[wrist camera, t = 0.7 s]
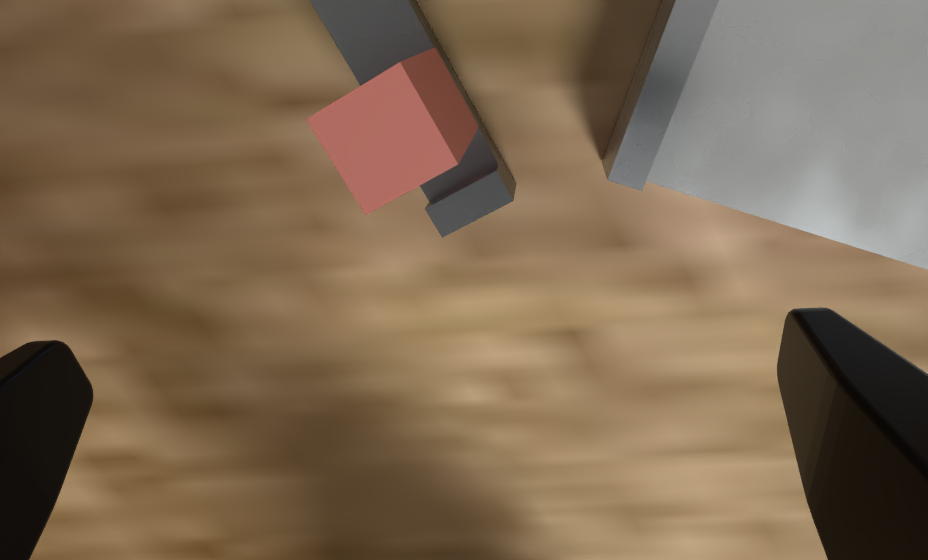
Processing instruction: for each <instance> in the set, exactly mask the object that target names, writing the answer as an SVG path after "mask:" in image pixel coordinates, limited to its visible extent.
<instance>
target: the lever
mask: <svg viewBox="0 0 928 560" xmlns="http://www.w3.org/2000/svg"><path fill="white" fill-rule="evenodd" d="M306 121H307V122H308V124H309V125H310V127H311V129H312V130H313V132H314V133H315V135H316V137H317V138H318V140H319V141H320V143H321V145H322V146H323V148H324V149H325V151H326V153H327V154H328V156H329V157H330V159H331V161H332V162H333V164H334V165H335V167H336V169H337V170H338V172H339V173H340V175H341V177H342V178H343V180H344V181H345V183H346V185H347V186H348V188H349V189H350V191H351V193H352V194H353V196H354V197H355V199H356V201H357V202H358V204H359V205H360V207H361V209H362V210H363V212H364V213H365V215H367V214H368V213H370V212H372V211H374V210H376V209H378V208H379V207H381V206H383V205H385V204H387V203H389V202H390V201H392V200H394V199H396V198H398V197H400V196H401V195H403V194H405V193H407V192H409V191H411V190H412V189H414V188H416V187H418V186H420V185H421V184H423V183H425V182H427V181H429V180H431V179H432V178H434V177H436V176H438V175H440V174H442V173H443V172H445V171H447V170H449V169H451V168H453V167H454V166H456V165H458V164H459V162H460V160H461V158H462V157H463V155H464V153H465V151H466V149H467V147H468V146H469V144H470V142H471V140H472V138H473V137H474V135H475V133H476V131H477V129H478V127H479V126H478V124H477V122H476V120H475V119H474V117H473V115H472V113H471V111H470V109H469V108H468V106H467V104H466V102H465V100H464V99H463V97H462V95H461V93H460V91H459V90H458V88H457V86H456V84H455V82H454V80H453V79H452V77H451V75H450V73H449V71H448V70H447V68H446V66H445V64H444V62H443V60H442V59H441V57H440V55H439V53H438V51H437V50H436V48H435V47H434V48H432V49H429V50H427V51H425V52H422V53H420V54H418V55H415V56H413V57H411V58H408V59H406V60H403V61H401V62H399V63H397V64H396V65H394V66H393V67H391V68H389V69H388V70H386V71H384V72H383V73H381V74H379V75H378V76H376V77H374V78H373V79H371V80H370V81H368V82H366V83H365V84H363V85H361V86H360V87H358V88H356V89H355V90H353V91H352V92H350V93H348V94H347V95H345V96H343V97H342V98H340V99H338V100H337V101H335V102H334V103H332V104H330V105H329V106H327V107H325V108H324V109H322V110H320V111H319V112H317V113H315V114H314V115H312V116H311V117H309V118H307V119H306Z"/></svg>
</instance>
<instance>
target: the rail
mask: <svg viewBox="0 0 928 560" xmlns="http://www.w3.org/2000/svg"><path fill="white" fill-rule="evenodd" d="M310 1H311V3H312V4H313V6H314V8H315V9H316V11H317V13H318V14H319V16H320V18H321V20H322V21H323V23H324V25H325V26H326V28H327V30H328V31H329V33H330V35H331V36H332V38H333V40H334V41H335V43H336V45H337V47H338V48H339V50H340V52H341V53H342V55H343V57H344V58H345V60H346V62H347V63H348V65H349V67H350V68H351V70H352V72H353V74H354V75H355V77H356V79H357V80H358V82H359V84H360V85H363V84H365V83H366V82H368V81H370V80H371V79H373V78H374V77H376V76H378V75H379V74H381V73H383V72H384V71H386V70H388V69H389V68H391V67H393V66H394V65H396V64H397V63H399V62H401V61H403V60H406V59H408V58H411V57H413V56H415V55H418V54H420V53H422V52H425V51H427V50H429V49H432V48H434V47H435V48H436V50H437V51H438V53H439V55H440V57H441V59H442V60H443V62H444V64H445V66H446V68H447V70H448V71H449V73H450V75H451V77H452V79H453V80H454V82H455V84H456V86H457V88H458V90H459V91H460V93H461V95H462V97H463V99H464V100H465V102H466V104H467V106H468V108H469V109H470V111H471V113H472V115H473V117H474V119H475V120H476V122H477V124H478V126H479V127H478V129H477V131H476V133H475V135H474V137H473V138H472V140H471V142H470V144H469V146H468V147H467V149H466V151H465V153H464V155H463V157H462V158H461V160H460V162H459V164H458V165H456V166H454V167H453V168H451V169H449V170H447V171H445V172H443V173H442V174H440V175H438V176H436V177H434V178H432V179H431V180H429V181H427V182H425V183H423V184H421V185H420V187H421V188H422V190H423V192H424V193H425V195H426V197H427V198H428V200H429V203H428V205H427V206H426V208H425V210H426V211H427V213H428V215H429V216H430V218H431V220H432V221H433V223H434V225H435V226H436V228H437V230H438V231H439V233H440V235H441V236H442V237H444V236H446V235H448V234H450V233H452V232H454V231H456V230H458V229H460V228H462V227H464V226H466V225H467V224H469V223H471V222H473V221H475V220H477V219H479V218H481V217H483V216H485V215H487V214H489V213H491V212H493V211H495V210H496V209H498V208H500V207H502V206H504V205H506V204H508V203H510V202H512V201H513V200H514V194H515V189H516V182H515V180H514V179H513V177H512V175H511V173H510V171H509V170H508V168H507V166H506V164H505V162H504V160H503V159H502V157H501V155H500V153H499V151H498V149H497V148H496V146H495V144H494V142H493V140H492V139H491V137H490V135H489V133H488V131H487V129H486V128H485V126H484V124H483V122H482V120H481V118H480V117H479V115H478V113H477V111H476V109H475V108H474V106H473V104H472V102H471V100H470V98H469V97H468V95H467V93H466V91H465V89H464V88H463V86H462V84H461V82H460V80H459V78H458V77H457V75H456V73H455V71H454V69H453V67H452V66H451V64H450V62H449V60H448V58H447V57H446V55H445V53H444V51H443V49H442V47H441V46H440V44H439V42H438V40H437V38H436V36H435V35H434V33H433V31H432V29H431V27H430V26H429V24H428V22H427V20H426V18H425V16H424V15H423V13H422V11H421V9H420V7H419V5H418V4H417V2H416V0H310Z"/></svg>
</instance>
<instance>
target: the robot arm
mask: <svg viewBox="0 0 928 560" xmlns="http://www.w3.org/2000/svg"><path fill="white" fill-rule="evenodd" d="M777 376H778V383H779V388H780V392H781V396H782V400H783V405H784V409H785V413H786V417H787V421H788V426H789V430H790V434H791V438H792V442H793V447H794V451H795V455H796V459H797V463H798V468H799V472H800V476H801V480H802V484H803V488H804V492H805V496H806V499H807V503H808V506H809V509H810V512H811V515H812V518H813V521H814V524H815V526H816V529H817V532H818V534H819V537H820V540H821V542H822V545H823V548H824V550H825V553H826V556H827V558H828V560H928V374H927V373H925V372H924V371H923V370H921V369H920V368H918V367H917V366H915V365H914V364H912V363H911V362H909V361H908V360H906V359H905V358H903V357H902V356H900V355H899V354H897V353H896V352H894V351H893V350H891V349H890V348H888V347H887V346H885V345H884V344H882V343H881V342H879V341H878V340H876V339H875V338H873V337H872V336H870V335H869V334H867V333H866V332H864V331H863V330H861V329H860V328H858V327H857V326H855V325H854V324H852V323H851V322H849V321H848V320H846V319H845V318H843V317H842V316H840V315H839V314H837V313H836V312H834V311H833V310H831V309H828V308H800V309H793V310H791V311H790V312H788V314H787V316H786V319H785V323H784V329H783V334H782V340H781V345H780V351H779V357H778V363H777ZM92 402H93V389H92V385H91V383H90V381H89V379H88V378H87V376H86V374H85V373H84V371H83V369H82V368H81V366H80V364H79V363H78V361H77V359H76V357H75V356H74V354H73V352H72V351H71V349H70V348H69V346H68V345H66V344H65V343H63V342H61V341H57V340H52V341H34V342H29V343H26V344H24V345H22V346H21V347H19V348H17V349H15V350H14V351H12V352H10V353H8V354H6V355H5V356H3V357H1V358H0V560H29V559H30V557H31V555H32V553H33V551H34V549H35V547H36V544H37V542H38V540H39V538H40V536H41V534H42V532H43V530H44V528H45V526H46V524H47V521H48V519H49V517H50V515H51V512H52V510H53V508H54V506H55V503H56V501H57V498H58V496H59V493H60V490H61V488H62V485H63V482H64V480H65V477H66V474H67V471H68V469H69V466H70V463H71V460H72V458H73V455H74V452H75V449H76V447H77V444H78V441H79V438H80V436H81V433H82V430H83V428H84V425H85V422H86V419H87V417H88V414H89V411H90V408H91V406H92Z"/></svg>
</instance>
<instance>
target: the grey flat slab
mask: <svg viewBox="0 0 928 560" xmlns="http://www.w3.org/2000/svg"><path fill="white" fill-rule="evenodd" d="M602 165H603V168H604V171H605V174H606V177H607V180H609V181H612V182H616V183H619V184H622V185H625V186H628V187H632V188H635V189H638V190H641V191H642V189H643V187H644V185H645V182H646V181H647V182H650V183H653V184H657V185H660V186H663V187H666V188H669V189H672V190H676V191H679V192H682V193H685V194H688V195H692V196H695V197H698V198H701V199H704V200H707V201H711V202H714V203H717V204H720V205H723V206H727V207H730V208H733V209H736V210H739V211H743V212H746V213H749V214H752V215H755V216H758V217H762V218H765V219H768V220H771V221H774V222H778V223H781V224H784V225H787V226H790V227H793V228H797V229H800V230H803V231H806V232H809V233H813V234H816V235H819V236H822V237H825V238H828V239H832V240H835V241H838V242H841V243H844V244H848V245H851V246H854V247H857V248H860V249H863V250H867V251H870V252H873V253H876V254H879V255H883V256H886V257H889V258H892V259H895V260H898V261H902V262H905V263H908V264H911V265H914V266H918V267H921V268H924V269H927V270H928V0H662V2H661V5H660V7H659V10H658V13H657V15H656V18H655V21H654V23H653V26H652V29H651V31H650V34H649V37H648V39H647V42H646V45H645V47H644V50H643V53H642V55H641V58H640V61H639V64H638V66H637V69H636V72H635V74H634V77H633V80H632V82H631V85H630V88H629V90H628V93H627V96H626V98H625V101H624V104H623V106H622V109H621V112H620V114H619V117H618V120H617V122H616V125H615V128H614V130H613V133H612V136H611V138H610V141H609V144H608V146H607V149H606V152H605V154H604V157H603V160H602Z"/></svg>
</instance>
